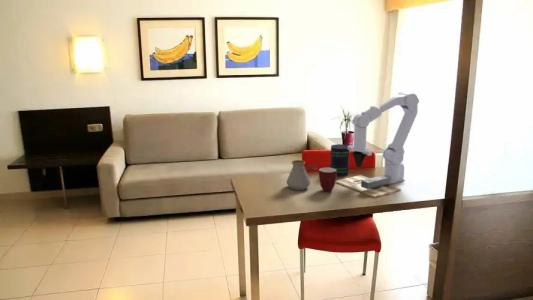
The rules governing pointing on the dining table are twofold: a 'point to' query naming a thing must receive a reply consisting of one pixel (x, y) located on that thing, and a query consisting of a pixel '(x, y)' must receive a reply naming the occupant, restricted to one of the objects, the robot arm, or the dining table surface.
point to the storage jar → (340, 159)
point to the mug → (327, 178)
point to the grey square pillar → (376, 181)
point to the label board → (373, 192)
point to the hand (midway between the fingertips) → (358, 166)
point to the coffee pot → (299, 176)
